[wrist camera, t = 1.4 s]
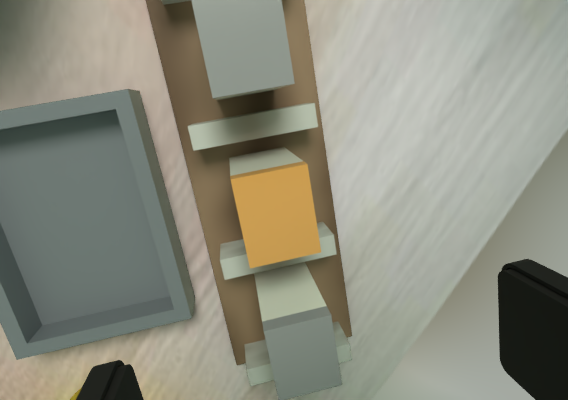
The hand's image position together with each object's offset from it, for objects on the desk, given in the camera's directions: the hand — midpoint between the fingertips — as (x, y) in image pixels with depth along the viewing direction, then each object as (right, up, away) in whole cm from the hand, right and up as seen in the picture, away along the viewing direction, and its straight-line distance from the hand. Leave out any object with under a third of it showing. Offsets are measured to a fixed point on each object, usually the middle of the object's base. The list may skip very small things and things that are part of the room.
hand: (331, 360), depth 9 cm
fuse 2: (-1, -3, +20) cm, 21 cm away
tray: (-15, +3, +17) cm, 23 cm away
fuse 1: (-4, +14, +15) cm, 21 cm away
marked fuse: (-3, +5, +18) cm, 19 cm away
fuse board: (-3, +5, +19) cm, 20 cm away
